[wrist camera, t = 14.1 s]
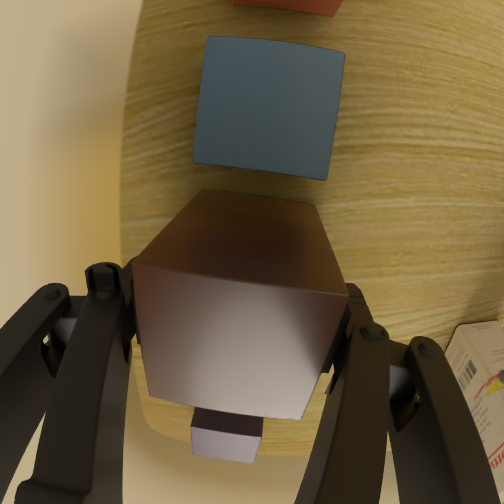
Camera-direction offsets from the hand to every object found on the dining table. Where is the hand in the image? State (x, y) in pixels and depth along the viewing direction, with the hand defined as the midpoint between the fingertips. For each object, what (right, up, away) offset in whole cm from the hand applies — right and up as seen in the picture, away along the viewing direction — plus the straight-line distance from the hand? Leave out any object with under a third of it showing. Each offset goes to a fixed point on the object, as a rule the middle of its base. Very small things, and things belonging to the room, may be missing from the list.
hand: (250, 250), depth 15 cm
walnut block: (0, 0, 0) cm, 0 cm away
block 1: (-2, -13, +7) cm, 15 cm away
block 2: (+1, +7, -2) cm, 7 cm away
